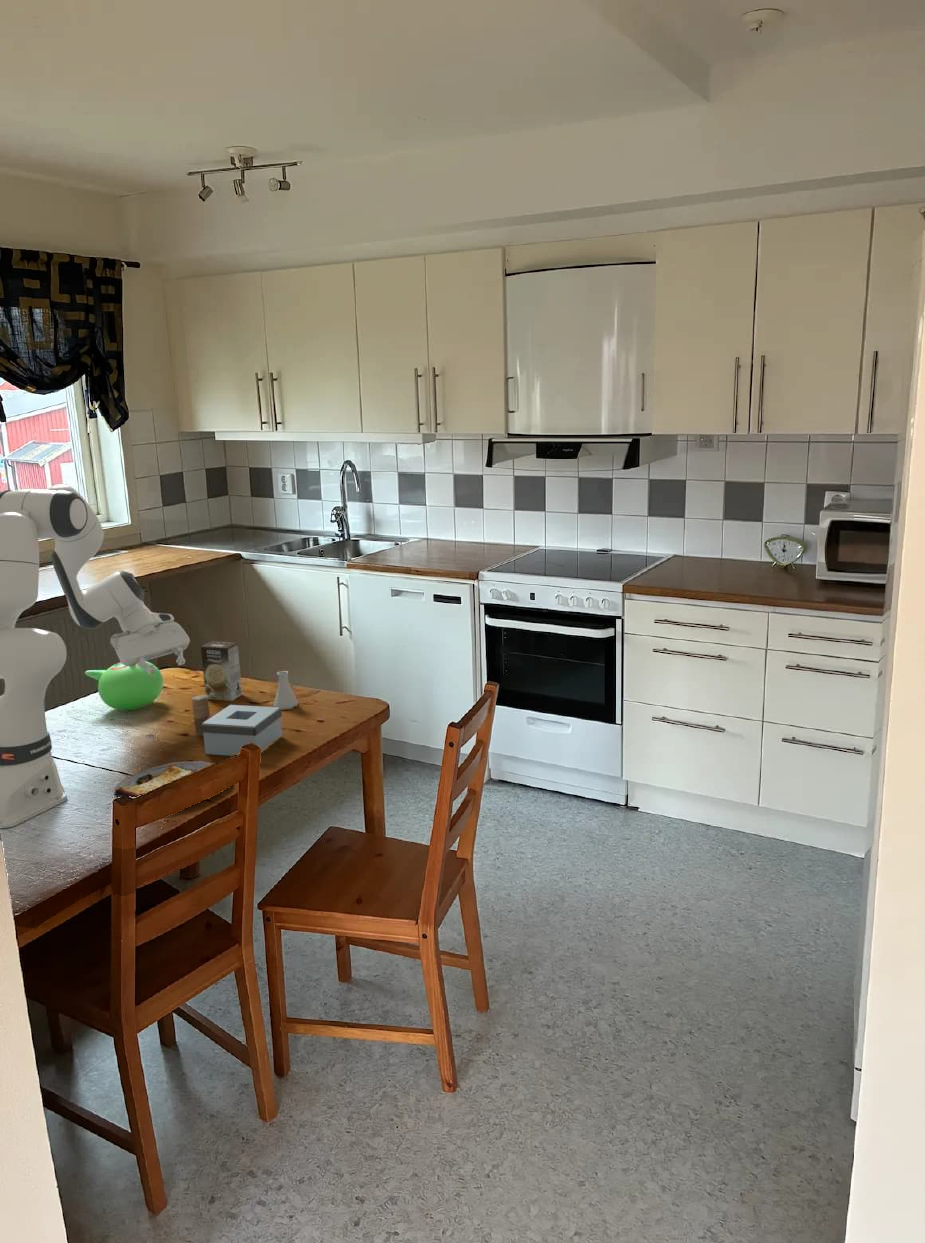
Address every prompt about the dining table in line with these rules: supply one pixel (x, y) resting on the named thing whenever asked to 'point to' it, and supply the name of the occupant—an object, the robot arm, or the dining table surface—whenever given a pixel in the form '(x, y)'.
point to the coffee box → (221, 670)
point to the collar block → (241, 728)
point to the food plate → (156, 777)
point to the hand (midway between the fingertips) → (167, 668)
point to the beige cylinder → (200, 712)
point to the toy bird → (127, 686)
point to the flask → (284, 693)
